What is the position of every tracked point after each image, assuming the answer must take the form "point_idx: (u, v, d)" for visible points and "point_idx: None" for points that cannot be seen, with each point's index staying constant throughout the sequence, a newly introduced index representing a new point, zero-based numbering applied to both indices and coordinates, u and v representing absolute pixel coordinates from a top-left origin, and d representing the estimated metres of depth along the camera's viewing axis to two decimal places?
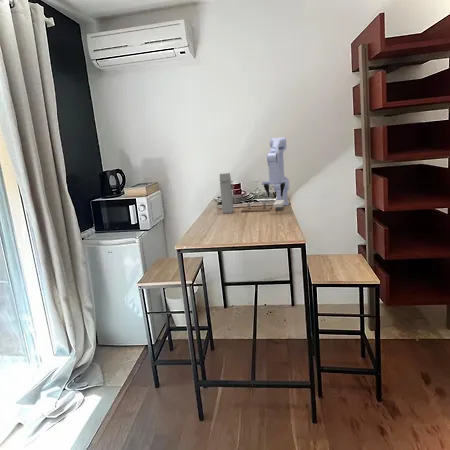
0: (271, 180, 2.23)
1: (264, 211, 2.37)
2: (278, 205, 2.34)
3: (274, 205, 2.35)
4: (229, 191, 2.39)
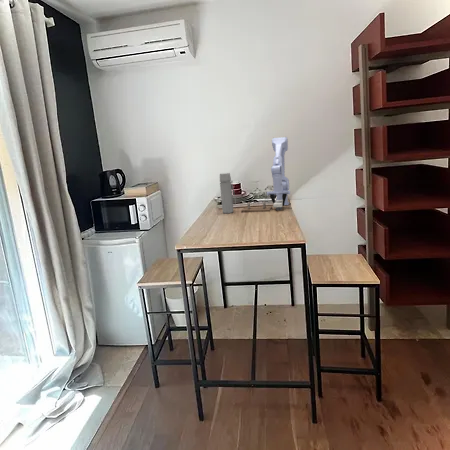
0: (275, 191, 2.37)
1: (264, 211, 2.37)
2: (278, 205, 2.34)
3: (274, 205, 2.35)
4: (229, 191, 2.39)
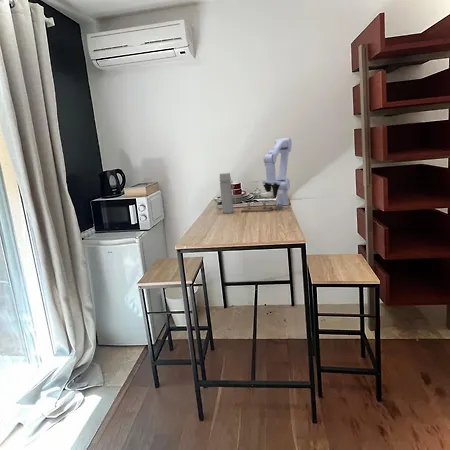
0: (266, 180, 2.37)
1: (264, 211, 2.37)
2: (264, 195, 2.35)
3: (261, 194, 2.37)
4: (229, 191, 2.39)
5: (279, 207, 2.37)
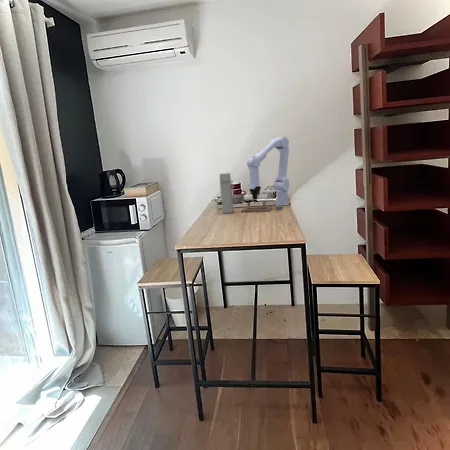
0: None
1: (264, 211, 2.37)
2: None
3: None
4: (229, 191, 2.39)
5: (279, 207, 2.37)
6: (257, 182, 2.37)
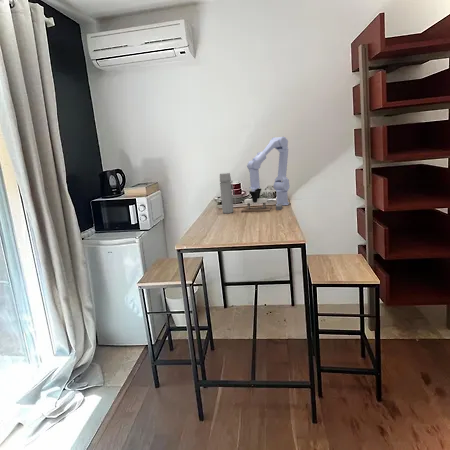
0: None
1: (264, 211, 2.37)
2: None
3: None
4: (229, 191, 2.39)
5: (279, 207, 2.37)
6: (257, 184, 2.38)
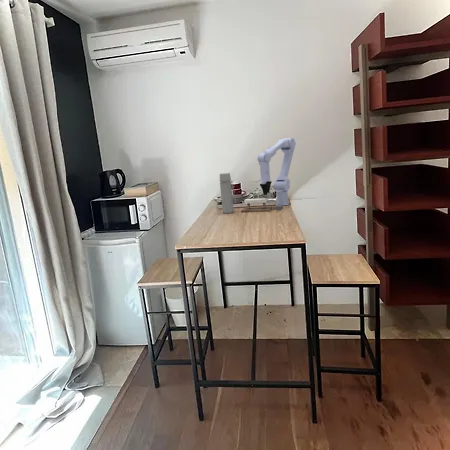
0: None
1: (264, 211, 2.37)
2: None
3: None
4: (229, 191, 2.39)
5: (279, 207, 2.37)
6: (268, 177, 2.38)
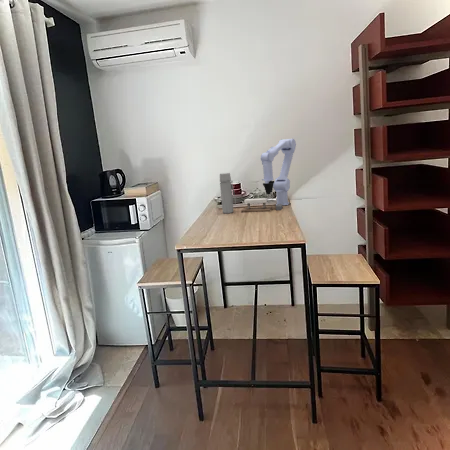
0: None
1: (264, 211, 2.37)
2: None
3: None
4: (229, 191, 2.39)
5: (279, 207, 2.37)
6: (271, 176, 2.38)
